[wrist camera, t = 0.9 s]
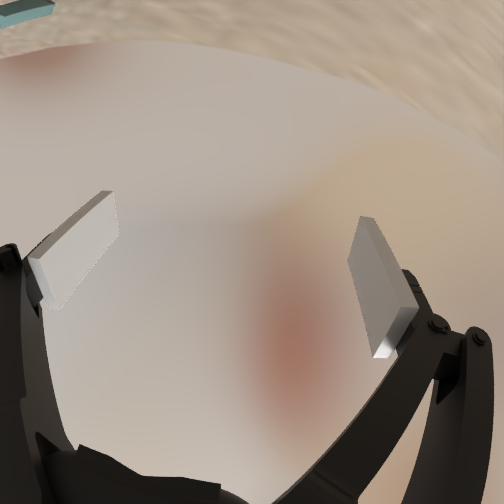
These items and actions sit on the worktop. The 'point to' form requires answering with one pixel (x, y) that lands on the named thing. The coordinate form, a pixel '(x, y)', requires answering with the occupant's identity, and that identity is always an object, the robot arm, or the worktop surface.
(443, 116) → the worktop surface
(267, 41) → the worktop surface
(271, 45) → the worktop surface
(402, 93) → the worktop surface
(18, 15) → the domino
